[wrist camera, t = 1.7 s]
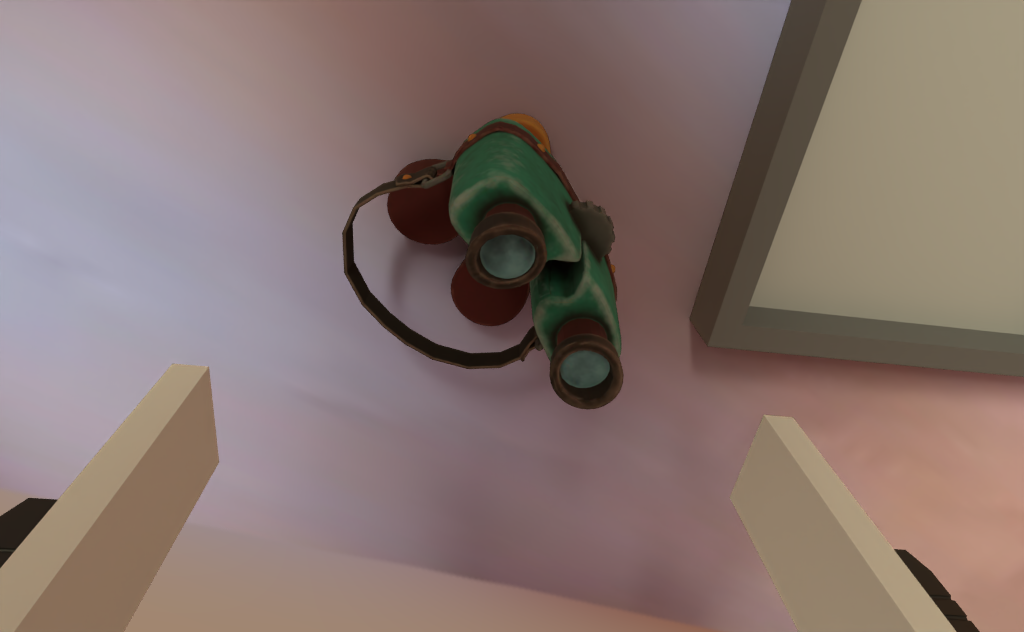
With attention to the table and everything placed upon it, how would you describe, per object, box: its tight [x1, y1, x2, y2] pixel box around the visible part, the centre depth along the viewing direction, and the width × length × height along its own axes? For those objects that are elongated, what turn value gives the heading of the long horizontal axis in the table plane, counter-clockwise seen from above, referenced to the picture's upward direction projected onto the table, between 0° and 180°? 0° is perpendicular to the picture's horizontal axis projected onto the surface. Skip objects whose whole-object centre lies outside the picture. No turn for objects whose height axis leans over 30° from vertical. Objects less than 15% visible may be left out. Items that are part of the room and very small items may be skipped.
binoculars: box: [342, 113, 623, 409], centre depth 22 cm, size 9×11×10 cm
